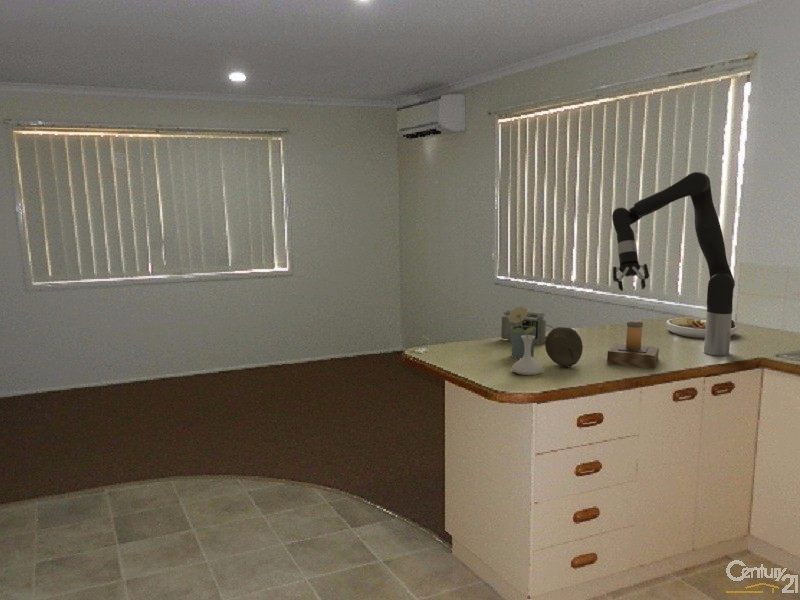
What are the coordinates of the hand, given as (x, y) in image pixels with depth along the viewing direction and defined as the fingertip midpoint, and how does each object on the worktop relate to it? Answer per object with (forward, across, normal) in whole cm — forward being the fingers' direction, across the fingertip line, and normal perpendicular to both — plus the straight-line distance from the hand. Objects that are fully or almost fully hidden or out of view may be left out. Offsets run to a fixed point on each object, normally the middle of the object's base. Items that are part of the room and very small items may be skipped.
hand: (632, 289), depth 265 cm
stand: (+32, -6, -14) cm, 35 cm away
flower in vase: (+36, -48, -38) cm, 71 cm away
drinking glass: (+27, -48, -14) cm, 57 cm away
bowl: (+14, +36, +46) cm, 60 cm away
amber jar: (+27, -5, -16) cm, 31 cm away
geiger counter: (+17, -44, +13) cm, 49 cm away
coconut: (+33, -33, -26) cm, 53 cm away
